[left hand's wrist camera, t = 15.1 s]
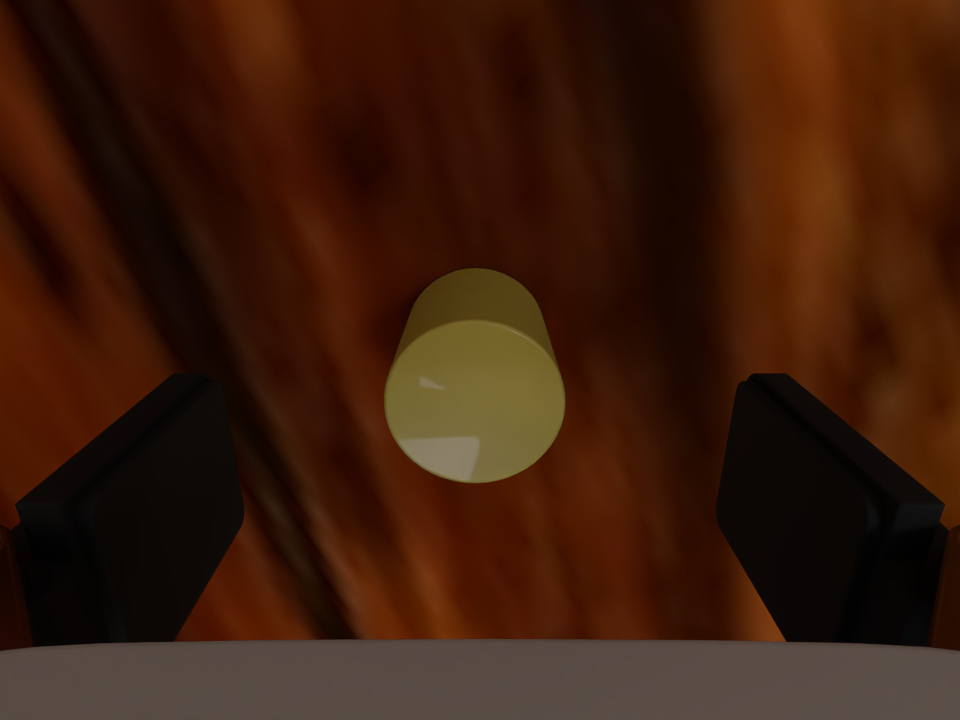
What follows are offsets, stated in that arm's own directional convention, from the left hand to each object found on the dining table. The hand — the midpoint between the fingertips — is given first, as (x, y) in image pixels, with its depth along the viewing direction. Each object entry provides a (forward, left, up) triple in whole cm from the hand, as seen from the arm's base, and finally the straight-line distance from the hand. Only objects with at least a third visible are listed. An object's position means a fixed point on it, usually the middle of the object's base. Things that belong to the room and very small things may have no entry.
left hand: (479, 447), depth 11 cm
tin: (0, 0, -6) cm, 6 cm away
